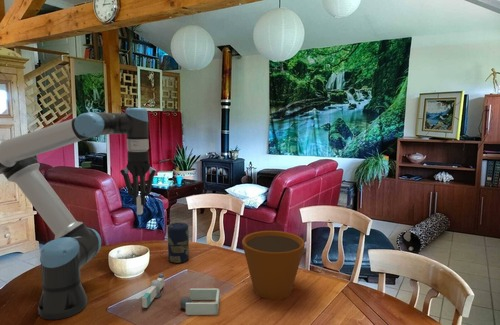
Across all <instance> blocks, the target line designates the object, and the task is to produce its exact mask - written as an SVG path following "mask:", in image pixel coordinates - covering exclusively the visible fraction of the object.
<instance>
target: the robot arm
mask: <svg viewBox="0 0 500 325" xmlns="http://www.w3.org/2000/svg"><path fill="white" fill-rule="evenodd" d="M148 116H149V114H148V109H146V108H144V107H127V108H126V109H125V112H122V113H121V112H120V113H119V112H94V111H93V112H84V113H81V114H79V115H78V116H76V117H75V118H74V117H73V118H71V119H67V120H64V121H61V122H58V123H55V124H52V125H48V126H45V127H43V128H40V129H37V130H33V131H30V132H28V133H25V134H21V135H18V136H15V137H12V138H8V139H5V138H0V175H3V176H4V177H5V179H6V180H7V181H8V182H11V183H15V184H16V185H17V186H18V188H19V189H20V190H21V192H22V193H23V195H24V196H25V197H26V198H27V199H28V201H29V202H30V205H32V206H33V207H34V209H35V210H36V212H37V213H38V214H39V215H40V217H41V218H42V220H43V221H44V222H45V224H46V225H47V227H48V228H49V229H50V230H51V232H52V233H53V235H54V239H53V240H52V239H51V240H50V241H48V242H47V243H45V244H44V245H43V246H42V248H41V249H40V257H39V262H40V268H41V269H40V270H41V282H42V284H41V286H42V292H41V295H40V299H39V302H38V305H37V312H38V316H39V315H40V316H41V317H42V319H44V318H45V320H51V321H53V320H60V319H61V320H62V319H67V318H69V317H72V316H75V315H78V314H79V313H80V312H82V311H83V310H84V309H85V308H86V307H87V306H88V296H87V293H86V291H85V289H84V287H83V285H82V281H81V269H82V268H83V267H84V266H85V265H86V264H88V263H89V262H90V261H91V260H92V259H95V257H96V256H97V254H98V253H99V252H100V250H101V248H102V238H101V235H100V234H99V233H98V231H96V230H95V229H93V228H90V227H87V226H86V224H85V223H84V222H83V221H78V220H76V218H75V217H74V216H73V214H72V212H70V210H69V209H68V208H67V206H66V204H64V202H63V201H62V199H61V198H60V197H59V195H58V194H57V193H56V191H55V190H54V188H53V187H52V185H50V183H49V182H48V181H47V180H46V177H45V176H44V175H43V174H42V173H41V171H40V167H41V166H40V165H41V164H40V162H39V161H38V156H39V155H41V154H43V153H47V152H50V151H53V150H57V149H60V148H62V147H66V146H70V145H72V144H76V143H78V142H80V141H85V140H88V139H90V138H91V139H92V138H94V137H99V136H105V135H126V149H127V154H126V155H127V164H126V167H125V168H123V169H120V170H119V171H120V172H119V173H121V175H122V178H123V180H124V183H125V187H126V191H127V194H128V196H132V197H133V204H134V206H136V215H139V216H141V215H142V214H143V213H144V206H145V204H146V197H147V196H149V195H150V194H151V191H152V187H153V181H154V177H155V175H156V174H157V171H158V170H157V169H155V168H153V167H151V164H150V152H149V151H148V150H149V149H150V146H149V145H150V144H149V142H150V140H149V122H150V121H149V117H148ZM148 171H149V177H148V180H147V186H146V174H147V173H148ZM129 173H130V174H131V176H132V177H130V175H129ZM130 178H132V182H131V179H130ZM139 190H140V191H139ZM139 192H140V193H139ZM40 316H39V317H40ZM41 317H40V318H41Z"/></svg>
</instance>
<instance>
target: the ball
mask: <svg viewBox="0 0 500 325" xmlns="http://www.w3.org/2000/svg"><path fill="white" fill-rule="evenodd" d="M192 301H193V300H191V299H190V296H183V297H182V298H181V299H180V301H179V305H180V307H181V308H182V309H183V310H186V303H193V302H192Z"/></svg>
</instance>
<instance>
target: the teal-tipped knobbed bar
mask: <svg viewBox="0 0 500 325" xmlns="http://www.w3.org/2000/svg"><path fill="white" fill-rule="evenodd" d="M150 283H151V284H150V285H151V286H150V287H149V288H148V290H146V292H145V293H144V294H143V295H142V297H141V302H142V303H141V304H142V308H144V309H145V308H148V307H149V306H150V304H151V303H152V302H153V300H155V299H154V298H155V296H156V295H158V294H160V292H161V290H162V288H164V286H165V274H164V273H163V272H162V273H161V272H160V273H158V277H157V279H152V280H151V282H150Z"/></svg>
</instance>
